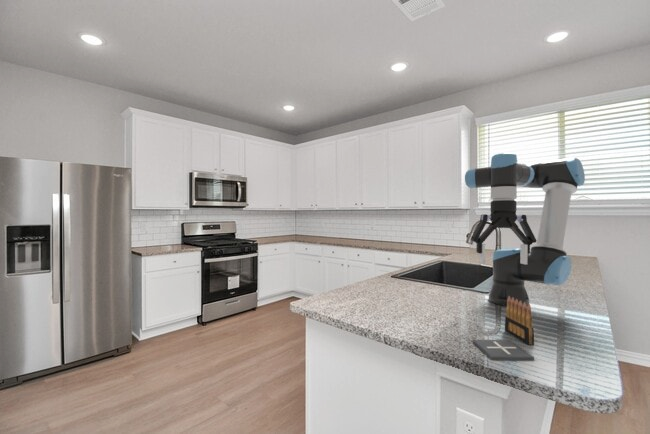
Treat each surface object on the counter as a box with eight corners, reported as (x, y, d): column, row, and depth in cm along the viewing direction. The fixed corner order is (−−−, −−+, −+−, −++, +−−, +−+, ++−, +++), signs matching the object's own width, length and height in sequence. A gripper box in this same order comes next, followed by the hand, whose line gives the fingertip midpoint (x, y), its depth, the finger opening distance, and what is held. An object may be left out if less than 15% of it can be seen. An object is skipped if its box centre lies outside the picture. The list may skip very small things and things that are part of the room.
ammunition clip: (504, 331, 100) (504, 295, 100) (510, 331, 100) (509, 294, 100) (528, 345, 90) (528, 304, 89) (534, 345, 90) (534, 304, 90)
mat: (510, 342, 92) (510, 339, 92) (534, 360, 81) (534, 356, 81) (473, 342, 92) (473, 339, 92) (491, 359, 81) (491, 356, 81)
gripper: (534, 201, 105) (534, 262, 105) (460, 200, 107) (460, 261, 107) (549, 199, 98) (549, 265, 98) (469, 199, 99) (469, 264, 99)
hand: (502, 263), depth 102 cm, fingers open, 13 cm apart
